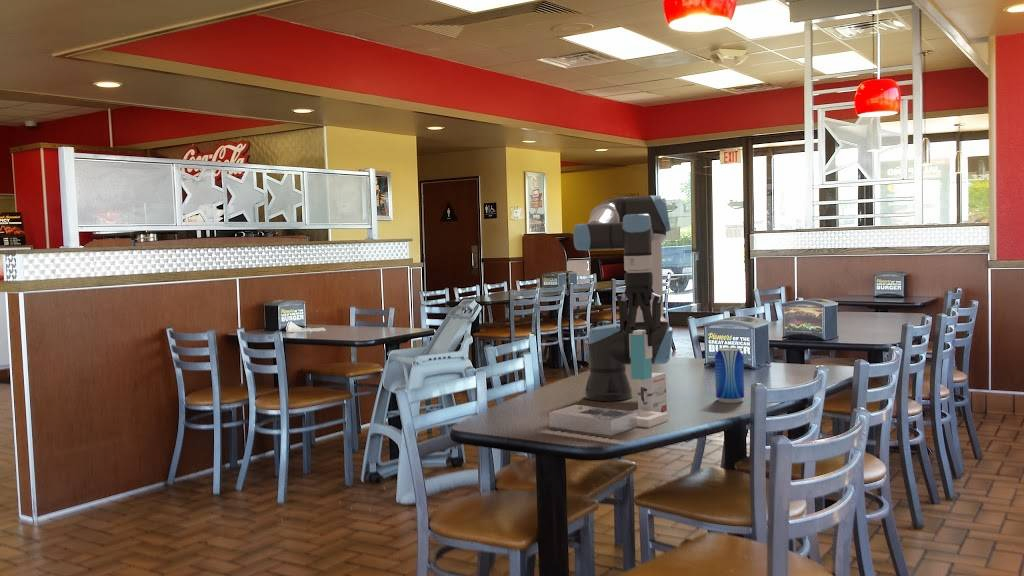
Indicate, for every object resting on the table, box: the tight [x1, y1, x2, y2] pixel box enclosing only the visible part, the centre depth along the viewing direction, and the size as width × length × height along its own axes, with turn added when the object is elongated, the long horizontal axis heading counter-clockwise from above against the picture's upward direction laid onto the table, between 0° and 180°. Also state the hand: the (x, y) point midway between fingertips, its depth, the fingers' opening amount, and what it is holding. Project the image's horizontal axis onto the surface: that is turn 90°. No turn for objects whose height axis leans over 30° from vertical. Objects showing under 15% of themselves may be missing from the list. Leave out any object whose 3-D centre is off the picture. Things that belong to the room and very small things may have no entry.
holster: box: [632, 409, 669, 429], centre depth 237 cm, size 10×10×3 cm
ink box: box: [636, 372, 668, 413], centre depth 249 cm, size 9×5×12 cm, turn 141°
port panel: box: [548, 404, 638, 440], centre depth 233 cm, size 20×12×6 cm, turn 49°
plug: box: [630, 330, 653, 380], centre depth 236 cm, size 4×4×13 cm
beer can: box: [714, 347, 745, 404], centre depth 266 cm, size 8×8×16 cm
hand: (641, 357), depth 236 cm, fingers closed on plug, 4 cm apart
